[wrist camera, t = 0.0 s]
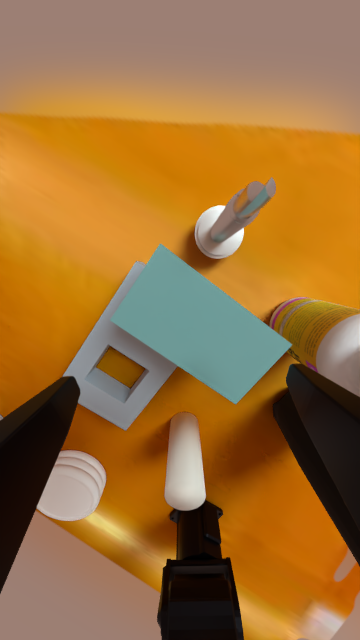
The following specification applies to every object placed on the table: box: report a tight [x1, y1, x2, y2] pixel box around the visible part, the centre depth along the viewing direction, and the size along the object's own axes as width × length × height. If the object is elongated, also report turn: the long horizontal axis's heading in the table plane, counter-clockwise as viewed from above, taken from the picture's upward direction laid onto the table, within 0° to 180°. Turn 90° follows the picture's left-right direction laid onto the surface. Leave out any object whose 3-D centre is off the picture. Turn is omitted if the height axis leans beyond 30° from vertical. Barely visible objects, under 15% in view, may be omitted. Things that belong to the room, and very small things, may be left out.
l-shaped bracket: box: [110, 244, 292, 404], centre depth 19 cm, size 6×12×9 cm, turn 54°
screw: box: [195, 178, 276, 259], centre depth 15 cm, size 13×5×5 cm
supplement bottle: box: [269, 297, 360, 397], centre depth 17 cm, size 7×7×13 cm
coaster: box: [37, 450, 106, 521], centre depth 29 cm, size 10×10×4 cm
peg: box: [165, 412, 206, 511], centre depth 23 cm, size 4×4×9 cm
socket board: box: [62, 261, 178, 431], centre depth 23 cm, size 18×10×3 cm, turn 144°
